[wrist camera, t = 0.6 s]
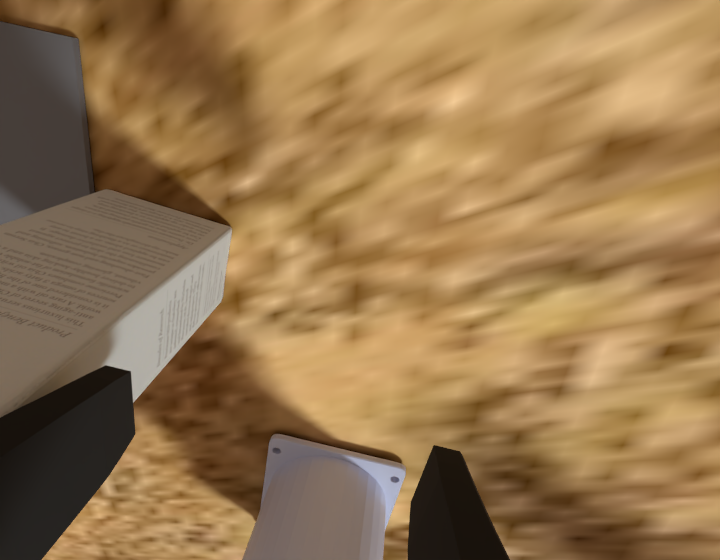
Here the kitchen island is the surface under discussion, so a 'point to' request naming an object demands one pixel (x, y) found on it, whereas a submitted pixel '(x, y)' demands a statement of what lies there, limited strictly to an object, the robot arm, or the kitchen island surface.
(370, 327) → the kitchen island surface
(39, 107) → the mat
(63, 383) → the skincare box
